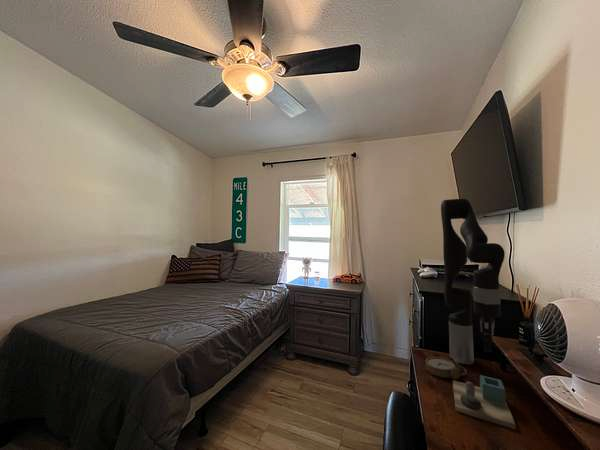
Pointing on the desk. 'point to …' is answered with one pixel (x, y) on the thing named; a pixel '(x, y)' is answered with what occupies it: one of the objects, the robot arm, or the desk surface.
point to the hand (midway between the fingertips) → (488, 347)
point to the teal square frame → (492, 389)
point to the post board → (480, 405)
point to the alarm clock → (444, 367)
